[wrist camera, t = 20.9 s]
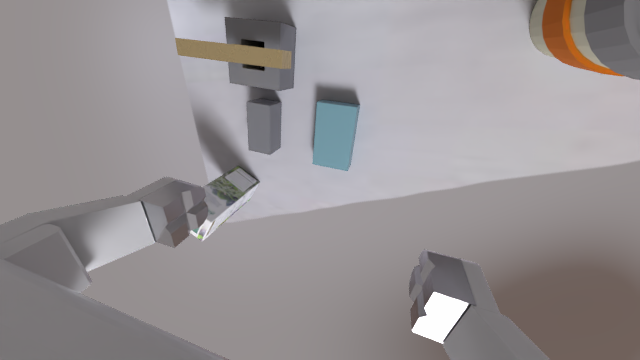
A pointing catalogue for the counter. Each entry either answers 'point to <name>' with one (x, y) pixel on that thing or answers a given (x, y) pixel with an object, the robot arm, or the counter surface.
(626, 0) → the reusable coffee cup
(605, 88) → the counter surface
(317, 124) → the cover
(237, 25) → the block
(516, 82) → the counter surface
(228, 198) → the syrup box
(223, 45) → the T-key
